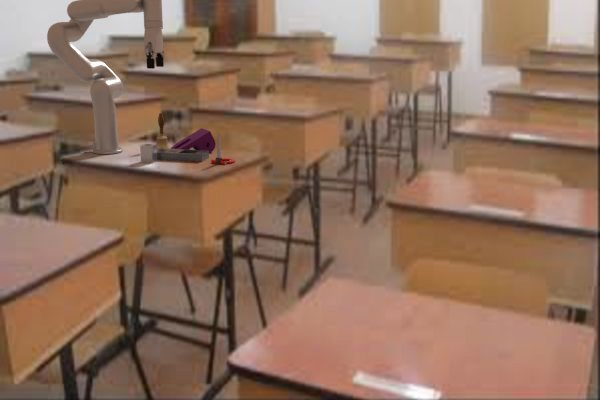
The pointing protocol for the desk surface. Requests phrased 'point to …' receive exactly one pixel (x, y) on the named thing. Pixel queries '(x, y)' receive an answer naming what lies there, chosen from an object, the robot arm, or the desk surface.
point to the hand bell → (162, 135)
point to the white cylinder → (148, 153)
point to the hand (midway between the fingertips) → (155, 67)
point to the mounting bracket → (197, 141)
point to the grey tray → (182, 155)
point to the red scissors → (218, 158)
